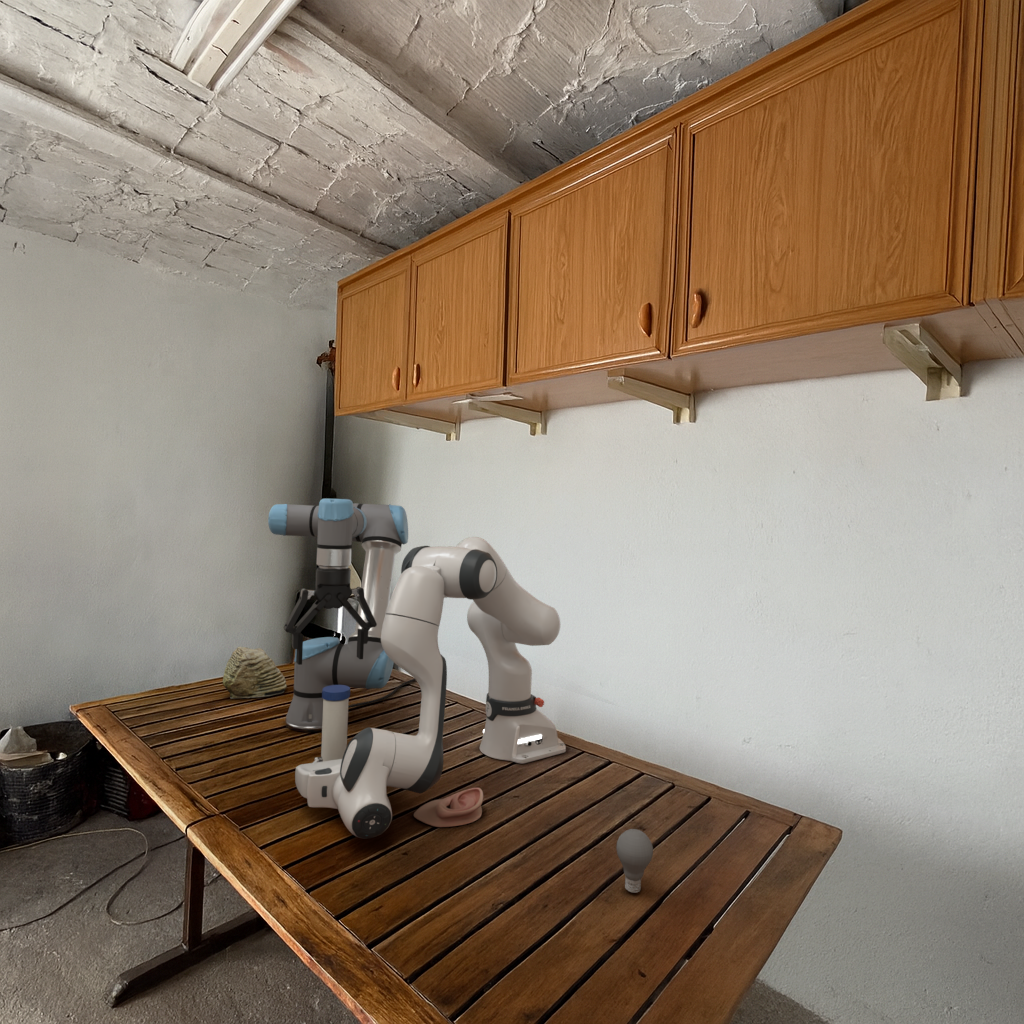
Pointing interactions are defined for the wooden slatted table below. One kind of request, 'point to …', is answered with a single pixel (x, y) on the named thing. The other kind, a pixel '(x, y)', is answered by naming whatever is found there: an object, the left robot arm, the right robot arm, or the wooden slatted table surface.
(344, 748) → the bottle
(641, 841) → the light bulb
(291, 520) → the left robot arm
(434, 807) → the anatomical model
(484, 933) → the wooden slatted table surface
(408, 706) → the wooden slatted table surface
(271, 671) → the fossil
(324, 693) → the lid
